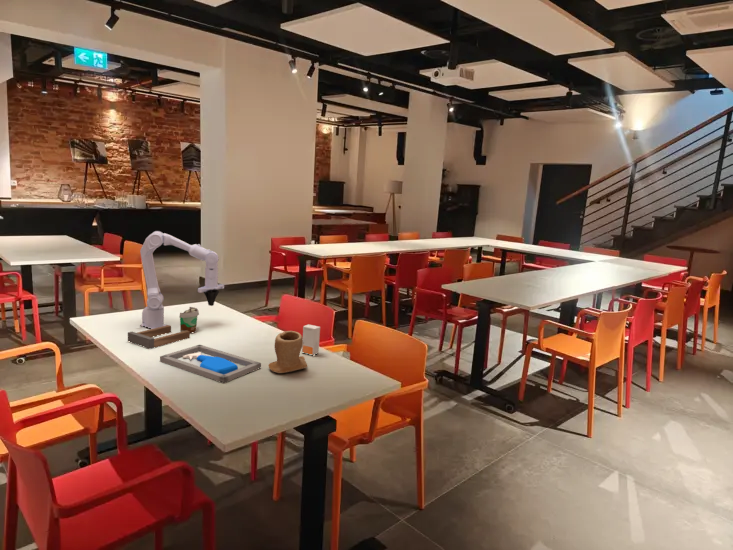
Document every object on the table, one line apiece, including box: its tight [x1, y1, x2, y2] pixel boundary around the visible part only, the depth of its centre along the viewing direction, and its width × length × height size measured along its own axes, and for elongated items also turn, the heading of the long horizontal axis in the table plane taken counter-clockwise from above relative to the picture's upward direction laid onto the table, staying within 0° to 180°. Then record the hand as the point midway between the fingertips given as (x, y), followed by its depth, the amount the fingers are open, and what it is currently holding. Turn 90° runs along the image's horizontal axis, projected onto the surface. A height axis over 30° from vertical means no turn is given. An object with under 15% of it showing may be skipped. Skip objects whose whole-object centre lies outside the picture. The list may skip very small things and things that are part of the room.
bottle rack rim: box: [159, 344, 262, 384], centre depth 184 cm, size 33×19×2 cm, turn 61°
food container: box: [179, 306, 200, 334], centre depth 222 cm, size 12×6×10 cm, turn 179°
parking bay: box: [136, 324, 191, 348], centre depth 209 cm, size 14×18×3 cm
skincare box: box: [301, 323, 321, 355], centre depth 204 cm, size 6×4×12 cm
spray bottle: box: [182, 352, 239, 375], centre depth 184 cm, size 3×11×24 cm
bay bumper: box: [127, 331, 155, 349], centre depth 200 cm, size 14×2×4 cm, turn 61°
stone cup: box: [268, 330, 309, 374], centre depth 184 cm, size 15×12×15 cm
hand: (210, 305), depth 231 cm, fingers closed
